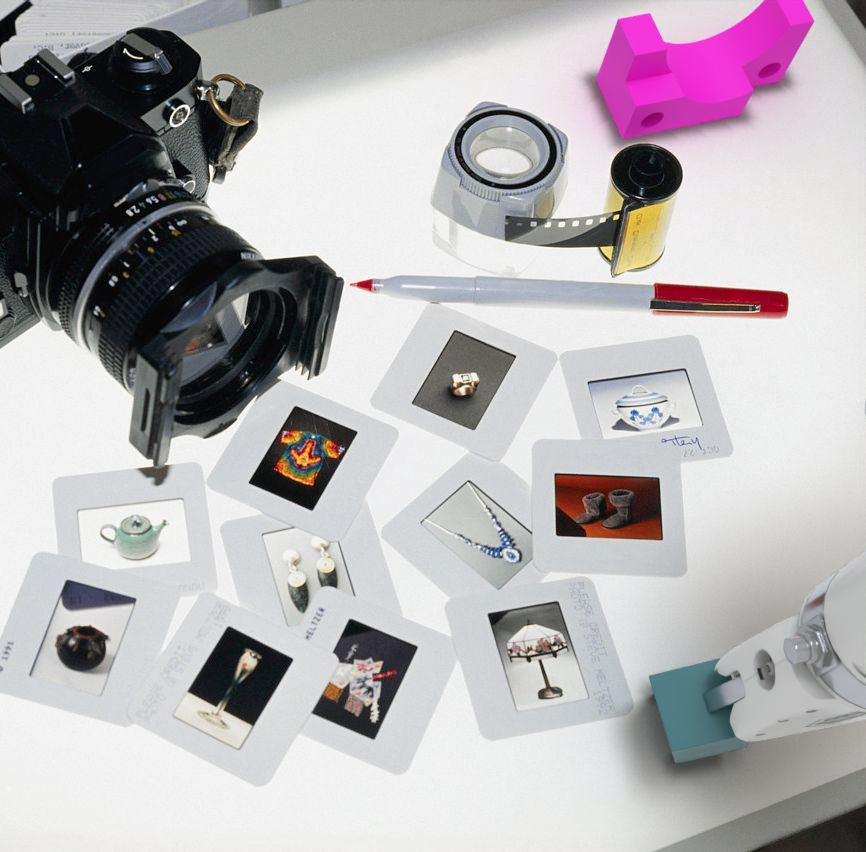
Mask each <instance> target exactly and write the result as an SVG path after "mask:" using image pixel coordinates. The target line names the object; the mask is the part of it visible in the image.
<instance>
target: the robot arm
mask: <svg viewBox="0 0 866 852" xmlns="http://www.w3.org/2000/svg"><path fill="white" fill-rule="evenodd" d="M864 417H865V418H866V399H865V400H864ZM720 658H721V659H720V660H719V661H718V663H717V664H716V666H715V669H714V672H715V673H718V674H719V676H722V675H723V676H725V677H726V676H730V675H731V676H732V675H733V678H732V680H730V681H728V682H726V683H724V684H722V685H719V686H717V687H715V688H713V689H711V690H709V691H706V692H704V693H703V695H704V698H705V701H706V704H707V707H708V710H709V713H714V712H718V711H722V710H726V709H730V708H732V711H731V715H730V724H731V727H732V729H733V731H734V733H735V736H736V737H738V738H739V739H741V740H743V741H747V742H748V743H750V742H751V743H753V742H760V741H767V740H772V739H776V738H777V739H778V738H783V737H788V736H794V735H796V734H797V735H799V734H803V733H809V732H814V731H818V730H822V729H823V730H824V729H829V728H833V727H838V726H843V725H848V724H852V723H856V722H861V721H865V720H866V550H864V551H863V552H861V553H860V554H859V555H858V556H856V557H855V558H853V559H852V560H851V561H849V562H848V563H846V564H844V565H843V566H842V567H840V568H839V569H838V570H836V571H835V572H833V573H832V574H830V575H829V576H828V577H826V578H825V579H823V580H822V581H821V582H820V583H818V584H817V585H815V587H814V588H813V589H812V590H811V591H810V592H809V593H808V595H807V596H806V597H805V599H804V600H803V603H802V605H801V607H800V610H799V612H798V613H796V614H794V615H792V616H790V617H788V618H785V619H783V620H782V621H778V622H776V623H775V624H773V625H772V626H770V627H767V628H766V629H764V630H762V631H760V632H758V633H756V634H755V635H753V636H751V637H749V638H748V639H746V640H744V641H743V642H741V643H739V644H737V645H736V646H734V647H733V648H732V649H730V650H729V651H727V652H726V653H725V654H724V655H723V656H722V657H720Z"/></svg>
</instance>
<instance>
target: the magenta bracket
mask: <svg viewBox="0 0 866 852" xmlns="http://www.w3.org/2000/svg"><path fill="white" fill-rule="evenodd" d="M814 24H815V19H814V17H813V15H812V14H811V11H810V10H809V8H808V6H807V4H806V3H805V1H804V0H762V2H761V3H760V4H759V5H758V6H757V7H755V9H754V10H752V12H750V13H749V14H748V15H747V16H745V17H743V19H741V20H740V21H738V22H737V23H735V24H734V25H732V26H730V27H729V28H727V29H725V30H724V31H722V32H721V31H720V32H719V33H717V34H715V35H712V36H709V37H706V38H704V39H701V40H697V41H692V42H686V43H673V42H668V41H665V40H664V38H663V36H662V35H661V32H660V29H659V27H658V26H657V24H656V22H655V20H654V17H653V16H652V13H650V12H648V13H643V14H642V13H641V14H637V15H636V14H635V15H632V16H631V15H630V16H626V17H621V18H617V21H616V24H615V26H614V29H613V31H612V34H611V37H610V40H609V43H608V46H607V48H606V51H605V54H604V57H603V59H602V61H601V64H600V68H599V70H598V73H597V76H596V78H595V82H596V83H597V85H598V88H599V90H600V93H601V94H602V97H603V99H604V102H605V104H606V107H607V108H608V110H609V112H610V114H611V117H612V120H613V122H614V124H615V125H616V129H617V130H618V132H619V135H620V137H621V140H626V139H627V140H628V139H632V138H636V137H641V136H646V135H652V134H655V133H661V132H664V131H665V132H666V131H671V130H675V129H681V128H686V127H691V126H695V125H700V124H707V123H711V122H715V121H720V120H721V121H722V120H726V119H730V118H735V117H740V116H741V115H742V113H743V111H744V109H745V108H746V107H747V104H748V103H749V100H750V98H751V96H752V95H753V93H754V91H755V90H754V88H755V87H760V86H761V87H762V86H766V85H770V84H777V83H781V81H782V80H783V78H784V76H785V75H786V73H787V71H788V69H789V67H790V65H791V64H792V62H793V60H794V58H795V57H796V55H797V53H798V51H799V50H800V48H801V46H802V44H803V43H804V41H805V39H806V38H807V35H808V33H809V31H810V30H811V28H812V27H813V25H814Z"/></svg>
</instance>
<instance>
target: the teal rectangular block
mask: <svg viewBox="0 0 866 852" xmlns="http://www.w3.org/2000/svg"><path fill="white" fill-rule="evenodd" d="M721 658H722V657H719V658H715V659H712V660H707V661H703V662H699V663H694V664H690V665H687V666H682V667H679V668H673V669H670V670H666V671H662V672H658V673H654V674H650V675H649V676H648V680H649V683H650V686H651V689H652V693H653V696H654V699H655V702H656V706H657V709H658V713H659V717H660V718H661V721H662V722H661V723H662V726H663V729H664V732H665V735H666V738H667V742H668V744H669V748H670V752H671V754H672V758H673V761H674V764H680V763H681V764H682V763H685V762H692V761H695V760H699V759H700V760H701V759H704V758H709V757H713V756H717V755H722V754H726V753H731V752H735V751H739V750H743V749H747V748H748V744H749V742H747V741H743V740H741V739H739V738H738V737H736V736H735V733H734V731H733V729H732V727H731V724H730V715H731V711H732V708H730V709H726V710H722V711H718V712H714V713H709V710H708V707H707V704H706V701H705V698H704V695H703V693H704V692H706V691H709V690H711V689H713V688H715V687H717V686H719V685H722V684H724V683H726V682H728V681H730V680H732V679H733V677H732V674H731V675H730V676H726V677H725V676H723V675H722V676H719V674H718V673H715V672H714V669H715V666H716V664H717V663H718V661H719V660H720V659H721Z"/></svg>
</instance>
